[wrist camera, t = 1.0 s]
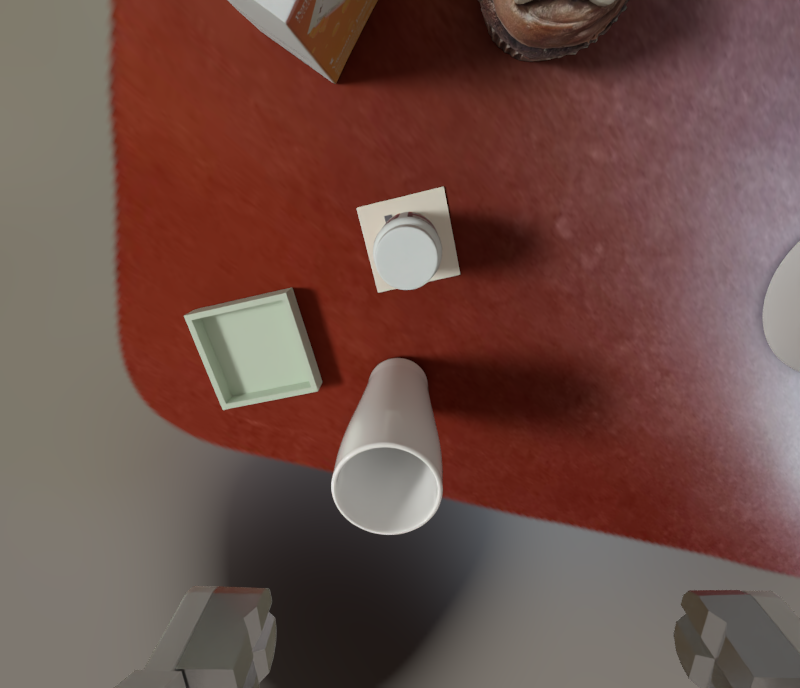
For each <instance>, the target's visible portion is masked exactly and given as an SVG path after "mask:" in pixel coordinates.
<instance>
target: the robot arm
mask: <svg viewBox="0 0 800 688" xmlns="http://www.w3.org/2000/svg"><path fill="white" fill-rule="evenodd" d="M763 328H764V333H765V337H766V339H767V342H768V344H769V346H770V348H771V349H772V351H773V352H774V354H775V355H776V356H777V357H778V358H779V359H780V360H781V361H782V362H783V363H784V364H786V365H787V366H789V367H790V368H792V369H794V370H796V371H798V372H800V241H799V242H798V243H797V244H796V245H795V246H794V247H793V248H792V249H791V251H790V252H789V253H788V254H787V256H786V257H785V258H784V260H783V261H782V262H781V264H780V265H779V267H778V269H777V270H776V272H775V274H774V276H773V278H772V280H771V282H770V284H769V287H768V290H767V293H766V296H765V300H764V306H763ZM271 603H272V599H271V594H270V590H269V589H266V588H240V587H203V586H199V587H198V586H194V587H192V588H191V589H190V590H189V591H188V592H187V593H186V594H185V596H184V598H183V600H182V602H181V603H180V605H179V607H178V609H177V611H176V612H175V614H174V616H173V618H172V619H171V621H170V623H169V625H168V627H167V628H166V630H165V632H164V634H163V636H162V637H161V639H160V641H159V643H158V644H157V646H156V648H155V650H154V652H153V654H152V655H151V657H150V659H149V661H148V663H147V664H146V666H145V668H144V670H135V671H134V672H132V673H131V674H130V675H129V676H128V677H126V678H125V679H124V680H123V681H121V682H120V683H119V684H118V685H117V686H115V687H114V688H260V687H259V683H260V682H261V681H262V679H263V678H264V677H265V676H266V675H267V674H268V673H269V671H270V668H271V664H272V660H273V656H274V650H275V644H276V622H275V617H274V616H273V615H271V614H270V613H269V609H270V606H271ZM681 606H682V608H683V609H684V611H685V613H686V614H685V615H684V616H682V617H681V618H680V619H679V620H678V621H676V625H675V630H674V641H675V648H676V652H677V655H678V657H679V660H680V663H681V665H682V667H683V669H684V671H685V673H686V675H687V676H688V678H689V679H690V680H691V681H692V682H693V683H695V684H696V685H697V686H698V687H699V688H800V618H799V617H798V616H797V615H796V614H795V613H794V611H793V610H792V609H791V608H790V607H789V606H788V605H787V603H786V602H785V601H784V600H783V599H782V598H781V597H780V596H778V595H777V594H776V593H774V592H772V591H739V590H716V591H715V590H703V591H702V590H700V591H688V592H686V593H685V594H684V595H683V598H682V602H681Z"/></svg>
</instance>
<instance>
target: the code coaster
mask: <svg viewBox="0 0 800 688" xmlns="http://www.w3.org/2000/svg"><path fill="white" fill-rule="evenodd" d="M356 209H357V213H358V216H359V220H360V224H361V228H362V232H363V236H364V240H365V244H366V248H367V252H368V256H369V260H370V263H371V267H372V271H373V275H374V279H375V283H376V287H377V291H378V293H379V292H384V291H388V290H393V289H397V288H394V287H392V286H390V285H389V284H387V283H386V282H385V281H384V280H383V279H382V278H381V276H380V275H379V273H378V271H377V268H376V266H375V263H374V259H373V245H374V241H375V238H376V236H377V234H378V233H379V231H380V230H381V229H382V227H383V226H384V225H385V223H386V222H387V221H388V220H389V219H390V218H392V217H393V216H395V215H397V214H399V213H402V212H416V213H419V214H421V215H423V216H425V217H427V218H428V219H429V220H430V221H431V222H432V224H433V225H434V227H435V228H436V231H437V233H438V236H439V238H440V241H441V244H442V259H441V263H440V266H439V268H438V270H437V272H436V273H435V274H434V276H433V277H432V278H431V279H430V280H429V281H434V280H438V279H443V278H447V277H452V276H457V275H460V270H459V264H458V259H457V254H456V248H455V243H454V238H453V233H452V227H451V222H450V217H449V211H448V206H447V201H446V195H445V190H444V187H440V188H435V189H431V190H427V191H423V192H419V193H415V194H411V195H407V196H403V197H399V198H395V199H390V200H386V201H382V202H378V203H374V204H370V205H366V206H362V207H358V208H356ZM429 281H428V282H429Z"/></svg>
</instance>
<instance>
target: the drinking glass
mask: <svg viewBox="0 0 800 688" xmlns="http://www.w3.org/2000/svg"><path fill="white" fill-rule="evenodd" d="M442 484H443V469H442V455H441V447H440V441H439V436H438V432H437V427H436V423H435V419H434V414H433V410H432V405H431V401H430V396H429V391H428V381H427V377H426V375H425V373H424V371H423V370H422V369H421V367H420V366H418V365H417V364H416V363H414V362H413V361H411V360H408V359H404V358H391V359H388V360H385V361H383V362H381V363H380V364H379V365H377V366H376V367H375V368H374V370H373V371H372V373H371V375H370V377H369V381H368V384H367V387H366V389H365V391H364V393H363V395H362V398H361V400H360V402H359V404H358V406H357V408H356V410H355V412H354V414H353V416H352V419H351V421H350V423H349V425H348V427H347V429H346V432H345V434H344V437H343V439H342V442H341V445H340V448H339V452H338V455H337V459H336V463H335V467H334V472H333V477H332V482H331V489H332V496H333V499H334V502H335V504H336V506H337V508H338V509H339V511H340V512H341V513H342V515H343V516H344V517H346V519H347V520H349V521H350V522H351V523H352V524H354V525H356V526H357V527H359V528H361V529H363V530H366V531H369V532H372V533H376V534H383V535H395V534H402V533H406V532H410V531H412V530H415V529H417V528H419V527H420V526H422V525H424V524H425V523H426V522H428V521H429V520H430V519H431V518H432V517H433V515H434V514H435V512H436V511H437V509H438V507H439V505H440V503H441V499H442V493H443V487H442Z"/></svg>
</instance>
